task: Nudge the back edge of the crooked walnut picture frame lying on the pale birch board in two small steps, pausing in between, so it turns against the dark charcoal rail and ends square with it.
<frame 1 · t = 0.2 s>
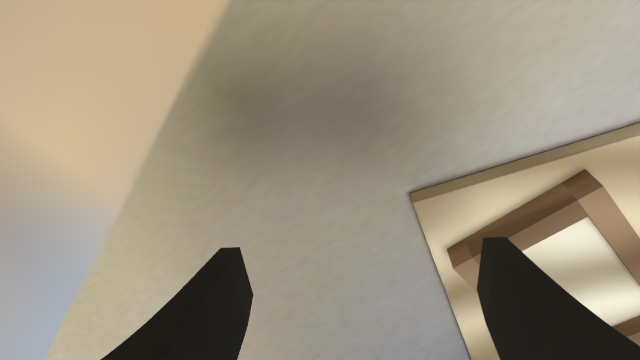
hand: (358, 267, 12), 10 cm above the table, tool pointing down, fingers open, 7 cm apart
picture frame: (564, 275, 22), point 1 cm above the table, touching display board
display board: (566, 261, 23), on the table
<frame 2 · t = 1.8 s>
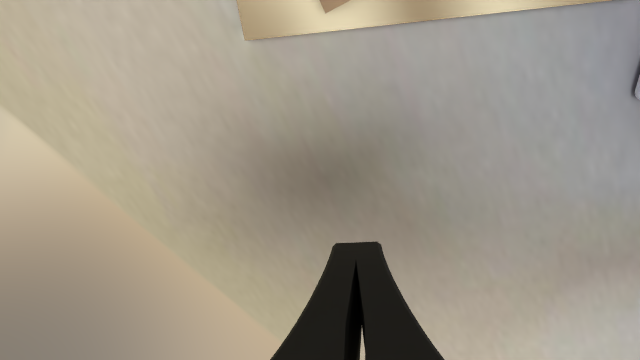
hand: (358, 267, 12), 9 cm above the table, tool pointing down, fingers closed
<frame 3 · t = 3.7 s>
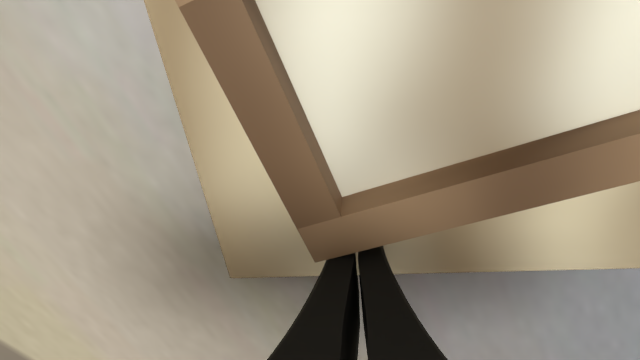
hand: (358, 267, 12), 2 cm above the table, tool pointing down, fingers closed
picture frame: (503, 17, 8), point 1 cm above the table, touching display board, gripper, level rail
display board: (488, 23, 9), on the table
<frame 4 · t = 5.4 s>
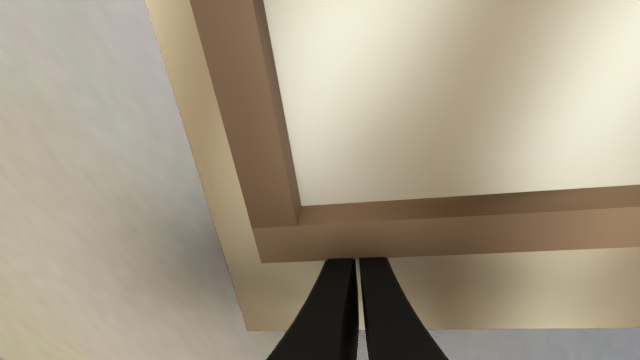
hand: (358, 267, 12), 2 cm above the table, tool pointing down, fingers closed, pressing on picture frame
picture frame: (485, 79, 9), point 1 cm above the table, touching display board, gripper, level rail
display board: (478, 127, 11), on the table
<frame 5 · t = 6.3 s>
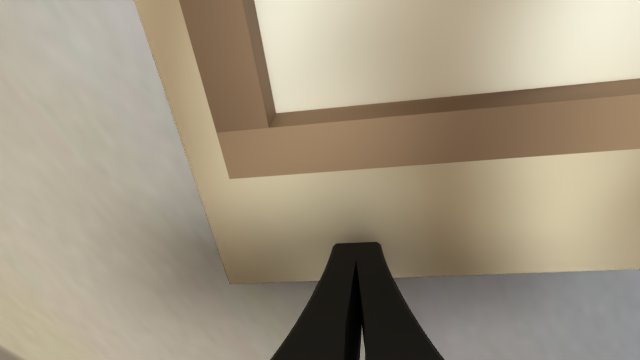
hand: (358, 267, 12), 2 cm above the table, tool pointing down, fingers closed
display board: (480, 28, 9), on the table
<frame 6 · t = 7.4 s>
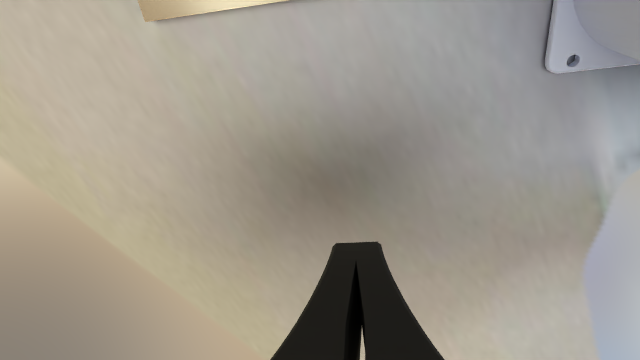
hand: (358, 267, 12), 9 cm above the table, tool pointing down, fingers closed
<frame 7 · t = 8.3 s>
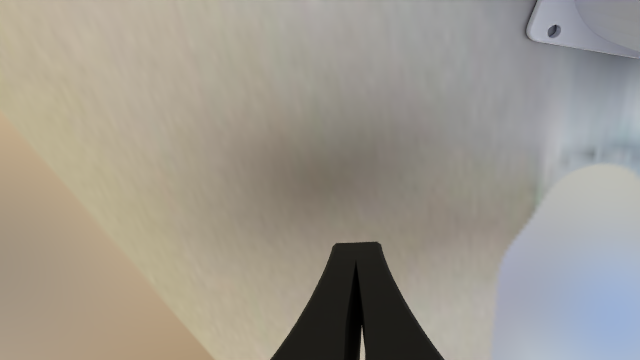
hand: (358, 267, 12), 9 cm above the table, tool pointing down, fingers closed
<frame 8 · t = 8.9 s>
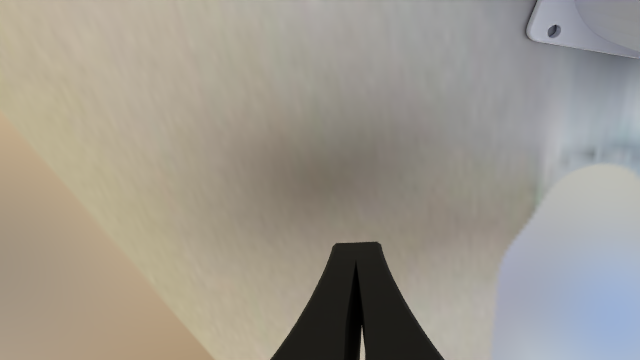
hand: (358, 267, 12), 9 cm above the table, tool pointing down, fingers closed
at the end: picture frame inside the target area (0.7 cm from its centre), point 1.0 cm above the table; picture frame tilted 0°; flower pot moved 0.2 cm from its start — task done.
